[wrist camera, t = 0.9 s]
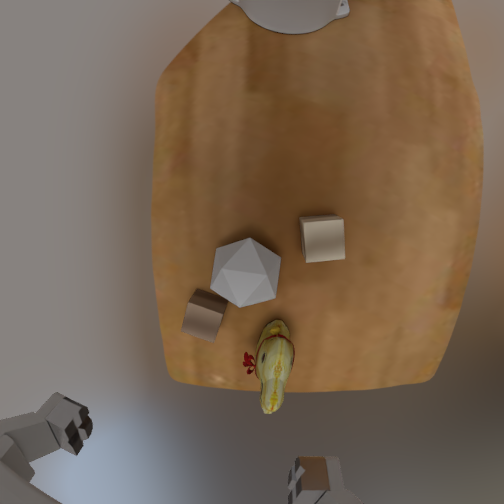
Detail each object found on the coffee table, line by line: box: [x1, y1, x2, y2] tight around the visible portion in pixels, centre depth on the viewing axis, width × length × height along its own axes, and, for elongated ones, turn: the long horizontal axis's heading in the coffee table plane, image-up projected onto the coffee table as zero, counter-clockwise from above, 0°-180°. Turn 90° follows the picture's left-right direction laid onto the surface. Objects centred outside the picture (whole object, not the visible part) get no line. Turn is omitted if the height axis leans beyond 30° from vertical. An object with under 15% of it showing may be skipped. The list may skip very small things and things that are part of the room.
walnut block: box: [181, 289, 228, 343], centre depth 40 cm, size 5×5×5 cm
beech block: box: [299, 214, 345, 263], centre depth 36 cm, size 5×5×5 cm
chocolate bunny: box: [243, 320, 295, 414], centre depth 36 cm, size 7×11×15 cm, turn 170°
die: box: [210, 238, 281, 308], centre depth 36 cm, size 8×9×10 cm
